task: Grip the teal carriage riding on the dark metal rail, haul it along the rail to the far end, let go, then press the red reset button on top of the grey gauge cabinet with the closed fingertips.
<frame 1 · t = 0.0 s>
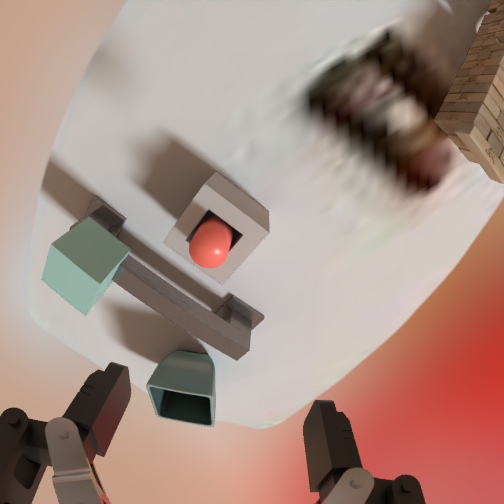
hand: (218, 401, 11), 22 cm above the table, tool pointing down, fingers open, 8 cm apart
flower pot: (193, 361, 41), on the table
reset button: (212, 239, 25), point 7 cm above the table, slide at 0.0 cm
block tower: (486, 69, 20), on the table
handrail: (169, 271, 34), on the table
gauge cabinet: (223, 215, 31), on the table
carriage: (85, 264, 25), point 8 cm above the table, slide at 0.0 cm
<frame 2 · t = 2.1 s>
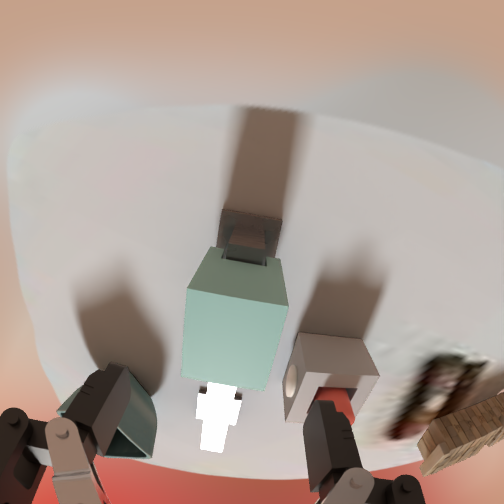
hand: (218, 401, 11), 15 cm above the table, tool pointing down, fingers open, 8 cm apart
flower pot: (127, 385, 31), on the table
reset button: (332, 405, 22), point 7 cm above the table, slide at 0.0 cm
block tower: (476, 412, 34), on the table
handrail: (229, 342, 28), on the table
gauge cabinet: (321, 362, 28), on the table
carriage: (234, 314, 18), point 8 cm above the table, slide at 0.0 cm
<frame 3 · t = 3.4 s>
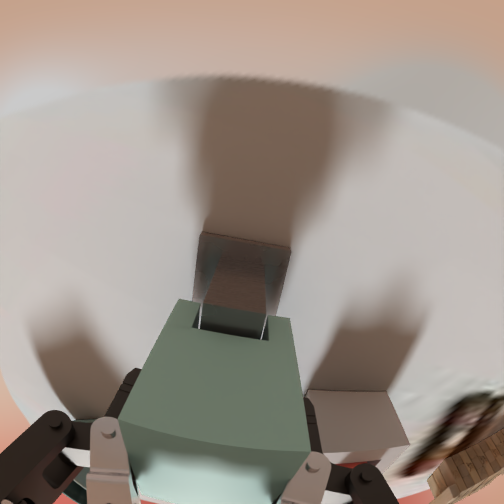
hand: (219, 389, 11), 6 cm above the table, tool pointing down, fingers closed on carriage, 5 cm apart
flower pot: (102, 431, 23), on the table
reset button: (348, 479, 14), point 6 cm above the table, slide at 0.0 cm
block tower: (490, 440, 26), on the table
handrail: (218, 400, 20), on the table
gauge cabinet: (334, 418, 21), on the table
carriage: (217, 412, 10), point 8 cm above the table, slide at 0.0 cm, touching gripper
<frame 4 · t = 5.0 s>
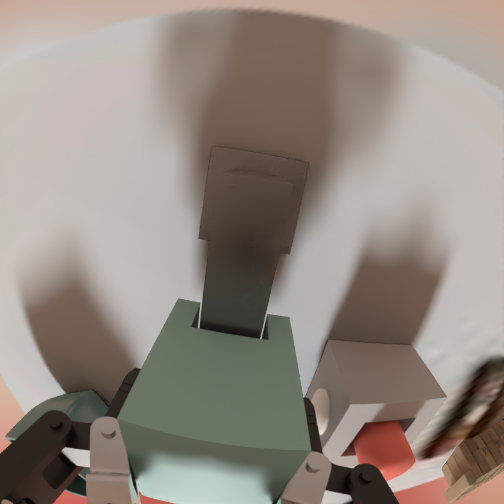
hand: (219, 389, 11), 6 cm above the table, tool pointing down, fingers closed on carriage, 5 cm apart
flower pot: (94, 406, 22), on the table
reset button: (380, 444, 13), point 6 cm above the table, slide at 0.0 cm
handrail: (225, 355, 18), on the table
gauge cabinet: (356, 379, 19), on the table
carriage: (217, 412, 10), point 8 cm above the table, slide at 4.8 cm, touching gripper
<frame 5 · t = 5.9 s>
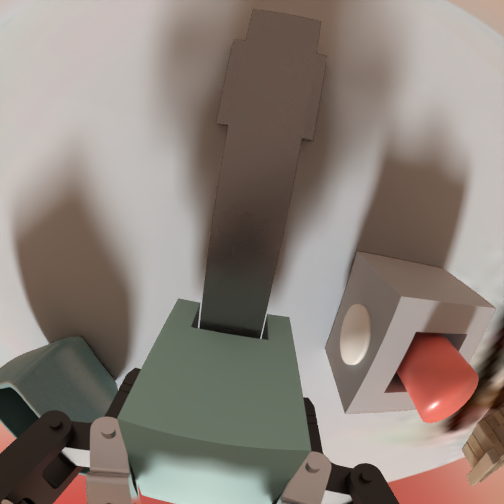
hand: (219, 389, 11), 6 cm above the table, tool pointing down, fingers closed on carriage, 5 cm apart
flower pot: (82, 362, 20), on the table
reset button: (432, 370, 11), point 6 cm above the table, slide at 0.0 cm
handrail: (239, 272, 17), on the table
gauge cabinet: (387, 309, 17), on the table
carriage: (217, 412, 10), point 8 cm above the table, slide at 11.0 cm, touching gripper
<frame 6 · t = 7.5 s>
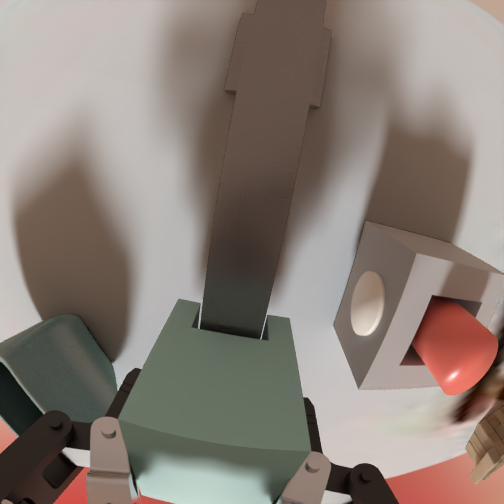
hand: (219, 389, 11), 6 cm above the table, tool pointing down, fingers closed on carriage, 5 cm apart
flower pot: (78, 344, 19), on the table
reset button: (448, 339, 10), point 6 cm above the table, slide at 0.0 cm
handrail: (245, 241, 16), on the table
gauge cabinet: (396, 284, 17), on the table
carriage: (216, 412, 10), point 8 cm above the table, slide at 12.9 cm, touching gripper
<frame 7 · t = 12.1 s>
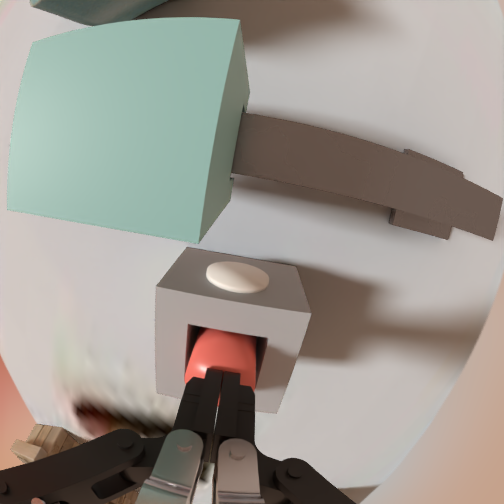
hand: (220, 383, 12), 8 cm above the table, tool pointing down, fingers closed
reset button: (224, 355, 14), point 5 cm above the table, slide at 1.1 cm, touching gripper
block tower: (103, 473, 31), on the table
handrail: (276, 155, 16), on the table
gauge cabinet: (232, 305, 19), on the table
carriage: (145, 129, 8), point 8 cm above the table, slide at 12.9 cm
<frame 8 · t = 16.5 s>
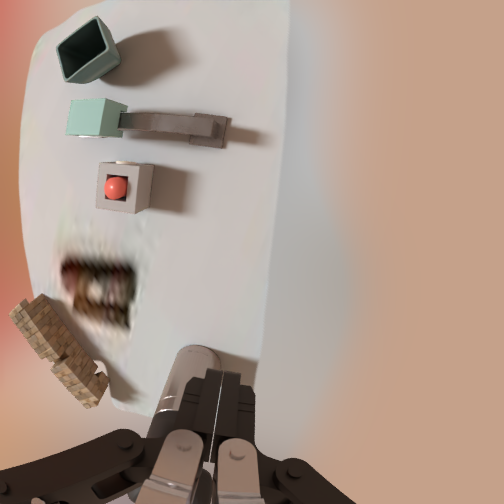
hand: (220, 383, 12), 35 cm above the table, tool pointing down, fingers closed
flower pot: (106, 61, 37), on the table
reset button: (119, 186, 39), point 5 cm above the table, slide at 1.7 cm
block tower: (68, 342, 55), on the table
handrail: (146, 125, 40), on the table
gauge cabinet: (132, 184, 43), on the table
carriage: (97, 119, 33), point 8 cm above the table, slide at 12.9 cm
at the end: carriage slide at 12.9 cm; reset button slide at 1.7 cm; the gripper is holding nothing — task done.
